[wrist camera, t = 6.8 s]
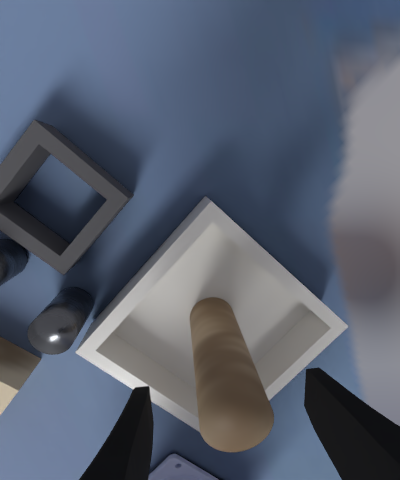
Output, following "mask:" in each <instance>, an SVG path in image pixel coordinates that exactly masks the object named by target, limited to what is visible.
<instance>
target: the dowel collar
mask: <svg viewBox="0 0 400 480" xmlns="http://www.w3.org/2000/svg"><path fill="white" fill-rule="evenodd" d="M50 154H52V155H53V156H54V157H55V158H57V159H58V160H59V161H60V162H62V163H63V164H64V165H65V166H66V167H68V168H69V169H70V170H71V171H73V172H74V173H75V174H76V175H77V176H79V177H80V178H81V179H82V180H84V181H85V182H86V183H87V184H88V185H90V186H91V187H92V188H93V189H95V190H96V191H97V192H98V193H99V194H101V195H102V196H103V197H104V198H106V199H107V201H106V202H105V203H104V204H103V205H102V207H101V208H100V209H99V210H98V211H97V213H96V214H95V215H94V216H93V217H92V219H91V220H90V221H89V222H88V223H87V225H86V226H85V227H84V228H83V229H82V231H81V232H80V233H79V234H78V235H77V237H76V238H75V239H74V240H73V241H72V243H71V244H69V243H68V242H66V241H65V240H64V239H62V238H61V237H60V236H58V235H57V234H56V233H54V232H53V231H52V230H50V229H49V228H48V227H46V226H45V225H43V224H42V223H41V222H39V221H38V220H37V219H35V218H34V217H33V216H31V215H30V214H29V213H27V212H26V211H25V210H23V209H22V208H21V207H19V206H18V205H17V204H15V203H14V200H15V199H16V198H17V197H18V195H19V194H20V193H21V191H22V190H23V189H24V188H25V186H26V185H27V184H28V182H29V181H30V180H31V178H32V177H33V176H34V175H35V173H36V172H37V171H38V169H39V168H40V167H41V166H42V164H43V163H44V162H45V160H46V159H47V158H48V156H49V155H50ZM133 196H134V195H133V194H132V193H131V192H130V191H128V190H127V189H126V188H125V187H124V186H123V185H121V184H120V183H119V182H118V181H117V180H115V179H114V178H113V177H112V176H111V175H110V174H108V173H107V172H106V171H105V170H104V169H102V168H101V167H100V166H99V165H98V164H97V163H95V162H94V161H93V160H92V159H91V158H89V157H88V156H87V155H86V154H85V153H84V152H82V151H81V150H80V149H79V148H78V147H76V146H75V145H74V144H73V143H72V142H71V141H69V140H68V139H67V138H66V137H65V136H63V135H62V134H61V133H60V132H59V131H58V130H56V129H55V128H54V127H53V126H51V125H48V124H45V123H42V122H40V121H37V120H34V121H33V122H32V123H31V125H30V126H29V127H28V129H27V130H26V131H25V133H24V134H23V135H22V137H21V138H20V139H19V141H18V142H17V143H16V145H15V146H14V147H13V149H12V150H11V151H10V153H9V154H8V155H7V157H6V158H5V160H4V161H3V162H2V164H1V165H0V230H1V231H2V232H3V233H5V234H6V235H8V236H9V237H10V238H12V239H13V240H15V241H16V242H17V243H19V244H20V245H22V246H23V247H25V248H26V249H27V250H29V251H30V252H32V253H33V254H34V255H36V256H37V257H39V258H40V259H41V260H43V261H44V262H46V263H47V264H49V265H50V266H51V267H53V268H54V269H56V270H57V271H58V272H60V273H61V274H63V275H64V274H66V273H67V272H68V271H69V270H70V269H71V268H72V267H73V266H74V265H75V264H76V263H77V262H78V261H79V260H80V258H81V257H82V256H83V255H84V254H85V252H86V251H87V250H88V249H89V248H90V247H91V245H92V244H93V243H94V242H95V241H96V239H97V238H98V237H99V236H100V235H101V234H102V232H103V231H104V230H105V229H106V228H107V226H108V225H109V224H110V223H111V222H112V221H113V219H114V218H115V217H116V216H117V215H118V213H119V212H120V211H121V210H122V209H123V207H124V206H125V205H126V204H127V203H128V202H129V200H130V199H131V198H132V197H133Z"/></svg>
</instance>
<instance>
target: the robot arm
mask: <svg viewBox="0 0 400 480" xmlns="http://www.w3.org/2000/svg"><path fill="white" fill-rule="evenodd" d="M304 406H305V409H306V411H307V414H308V416H309V418H310V421H311V423H312V425H313V428H314V430H315V432H316V434H317V435H318V437H319V439H320V441H321V443H322V444H323V446H324V448H325V450H326V452H327V454H328V455H329V457H330V459H331V461H332V462H333V464H334V466H335V468H336V470H337V471H338V473H339V475H340V477H341V479H342V480H400V426H398V425H396V424H395V423H393V422H392V421H390V420H389V419H387V418H386V417H384V416H383V415H382V414H380V413H378V412H377V411H376V410H374V409H373V408H371V407H370V406H369V405H367V404H366V403H364V402H363V401H362V400H360V399H359V398H358V397H356V396H355V395H354V394H352V393H351V392H350V391H348V390H347V389H346V388H344V387H343V386H342V385H341V384H339V383H338V382H337V381H336V380H334V379H333V378H332V377H330V376H329V375H328V374H327V373H325V372H324V371H323V370H321V369H320V368H312V369H306V382H305V400H304ZM152 444H153V414H152V406H151V397H150V388H149V386H143V387H135V388H134V389H133V391H132V393H131V396H130V398H129V400H128V402H127V404H126V406H125V408H124V410H123V412H122V414H121V415H120V417H119V419H118V421H117V423H116V424H115V426H114V428H113V430H112V431H111V433H110V435H109V436H108V438H107V439H106V441H105V443H104V444H103V446H102V447H101V449H100V451H99V452H98V454H97V455H96V457H95V458H94V460H93V461H92V462H91V464H90V465H89V467H88V468H87V469H86V471H85V472H84V474H83V475H82V476H81V478H80V479H79V480H219V479H217V478H215V477H214V476H212V475H210V474H209V473H207V472H205V471H204V470H202V469H200V468H199V467H197V466H195V465H194V464H192V463H190V462H189V461H187V460H185V459H184V458H182V457H180V456H179V455H177V454H171V455H169V456H168V457H167V458H166V459H165V460H164V461H163V462H162V463H161V464H160V465H159V466H158V467H157V468H156V469H155V470H154V471H153V472H152V473H151V474H150V475H149V469H150V462H151V455H152Z"/></svg>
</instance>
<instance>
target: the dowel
mask: <svg viewBox="0 0 400 480" xmlns="http://www.w3.org/2000/svg"><path fill="white" fill-rule="evenodd" d="M190 328H191V339H192V350H193V361H194V372H195V383H196V395H197V406H198V417H199V428H200V433H201V435H202V437H203V439H204V440H205V442H206V443H207V444H208V445H210V446H211V447H213V448H215V449H217V450H220V451H224V452H240V451H244V450H248V449H250V448H252V447H254V446H256V445H258V444H259V443H261V442H262V441H263V440H264V439H265V438H266V437H267V435H268V434H269V433H270V431H271V429H272V426H273V423H274V414H273V410H272V408H271V405H270V403H269V400H268V398H267V395H266V393H265V390H264V388H263V385H262V383H261V380H260V378H259V375H258V373H257V370H256V368H255V365H254V363H253V360H252V358H251V355H250V353H249V350H248V348H247V345H246V343H245V340H244V338H243V335H242V333H241V330H240V328H239V325H238V323H237V320H236V318H235V315H234V312H233V310H232V308H231V306H230V305H229V304H228V303H227V302H226V301H225V300H223V299H220V298H217V297H209V298H205V299H203V300H201V301H199V302H198V303H197V304H196V305H195V306H194V307H193V308H192V310H191V313H190Z"/></svg>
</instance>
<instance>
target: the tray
mask: <svg viewBox="0 0 400 480" xmlns="http://www.w3.org/2000/svg"><path fill="white" fill-rule="evenodd" d="M209 297H217V298H220V299H223V300H225V301H226V302H227V303H228V304H229V305H230V306H231V308H232V310H233V312H234V315H235V318H236V320H237V323H238V325H239V328H240V330H241V333H242V335H243V338H244V340H245V343H246V345H247V348H248V350H249V353H250V355H251V358H252V360H253V363H254V365H255V368H256V370H257V373H258V375H259V378H260V380H261V383H262V385H263V388H264V390H265V393H266V395H267V398H268V400H270V399H271V398H273V397H274V396H275V395H276V394H277V393H278V392H279V391H280V390H281V389H282V388H283V387H284V386H285V385H286V384H288V383H289V382H290V381H291V380H292V379H293V378H294V377H295V376H296V375H297V374H298V373H299V372H300V371H301V370H303V369H304V368H305V367H306V366H307V365H308V364H309V363H310V362H311V361H312V360H313V359H314V358H315V357H316V356H317V355H319V354H320V353H321V352H322V351H323V350H324V349H325V348H326V347H327V346H328V345H329V344H330V343H331V342H332V341H334V340H335V339H336V338H337V337H338V336H339V335H340V334H341V333H342V332H343V331H344V330H345V329H346V328H347V327H349V326H348V325H347V324H345V323H344V322H343V321H342V320H341V319H340V318H339V317H338V316H337V315H336V314H334V313H333V312H332V311H331V310H330V309H329V308H328V307H327V306H326V305H325V304H324V303H322V302H321V301H320V300H319V299H318V298H317V297H316V296H315V295H314V294H313V293H312V292H310V291H309V290H308V289H307V288H306V287H305V286H304V285H303V284H302V283H301V282H299V281H298V280H297V279H296V278H295V277H294V276H293V275H292V274H291V273H290V272H289V271H287V270H286V269H285V268H284V267H283V266H282V265H281V264H280V263H279V262H278V261H277V260H275V259H274V258H273V257H272V256H271V255H270V254H269V253H268V252H267V251H266V250H264V249H263V248H262V247H261V246H260V245H259V244H258V243H257V242H256V241H255V240H254V239H252V238H251V237H250V236H249V235H248V234H247V233H246V232H245V231H244V230H243V229H242V228H240V227H239V226H238V225H237V224H236V223H235V222H234V221H233V220H232V219H231V218H230V217H228V216H227V215H226V214H225V213H224V212H223V211H222V210H221V209H220V208H219V207H217V206H216V205H215V204H214V203H213V202H212V201H211V200H210V199H209V198H208V197H206V196H205V197H204V198H203V199H202V200H201V201H200V202H199V203H198V205H197V206H196V207H195V208H194V209H193V210H192V211H191V212H190V214H189V215H188V216H187V217H186V218H185V219H184V220H183V221H182V222H181V224H180V225H179V226H178V227H177V228H176V229H175V230H174V231H173V233H172V234H171V235H170V236H169V237H168V238H167V239H166V240H165V242H164V243H163V244H162V245H161V246H160V247H159V248H158V249H157V251H156V252H155V253H154V254H153V255H152V256H151V257H150V258H149V260H148V261H147V262H146V263H145V264H144V265H143V266H142V267H141V268H140V270H139V271H138V272H137V273H136V274H135V275H134V276H133V277H132V279H131V280H130V281H129V282H128V283H127V284H126V285H125V286H124V288H123V289H122V290H121V291H120V292H119V293H118V294H117V295H116V297H115V298H114V299H113V300H112V301H111V302H110V303H109V304H108V306H107V307H106V308H105V309H104V310H103V311H102V312H101V313H100V315H99V316H98V317H97V318H96V319H95V320H94V321H93V322H92V323H91V325H90V327H89V329H88V330H87V332H86V334H85V336H84V338H83V340H82V341H81V343H80V345H79V347H78V349H77V350H76V352H75V353H77V354H78V355H80V356H81V357H83V358H85V359H86V360H88V361H89V362H91V363H92V364H94V365H96V366H97V367H99V368H100V369H102V370H103V371H105V372H106V373H108V374H110V375H111V376H113V377H114V378H116V379H117V380H119V381H121V382H122V383H124V384H125V385H127V386H128V387H130V388H132V389H134V388H135V387H143V386H149V388H150V397H151V401H152V402H153V403H155V404H157V405H158V406H160V407H161V408H163V409H164V410H166V411H167V412H169V413H171V414H172V415H174V416H175V417H177V418H178V419H180V420H182V421H183V422H185V423H186V424H188V425H189V426H191V427H192V428H194V429H196V430H197V431H199V432H200V428H199V417H198V406H197V395H196V383H195V372H194V361H193V350H192V339H191V328H190V313H191V310H192V308H193V307H194V306H195V305H196V304H197V303H198V302H199V301H201V300H203V299H205V298H209Z"/></svg>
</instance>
